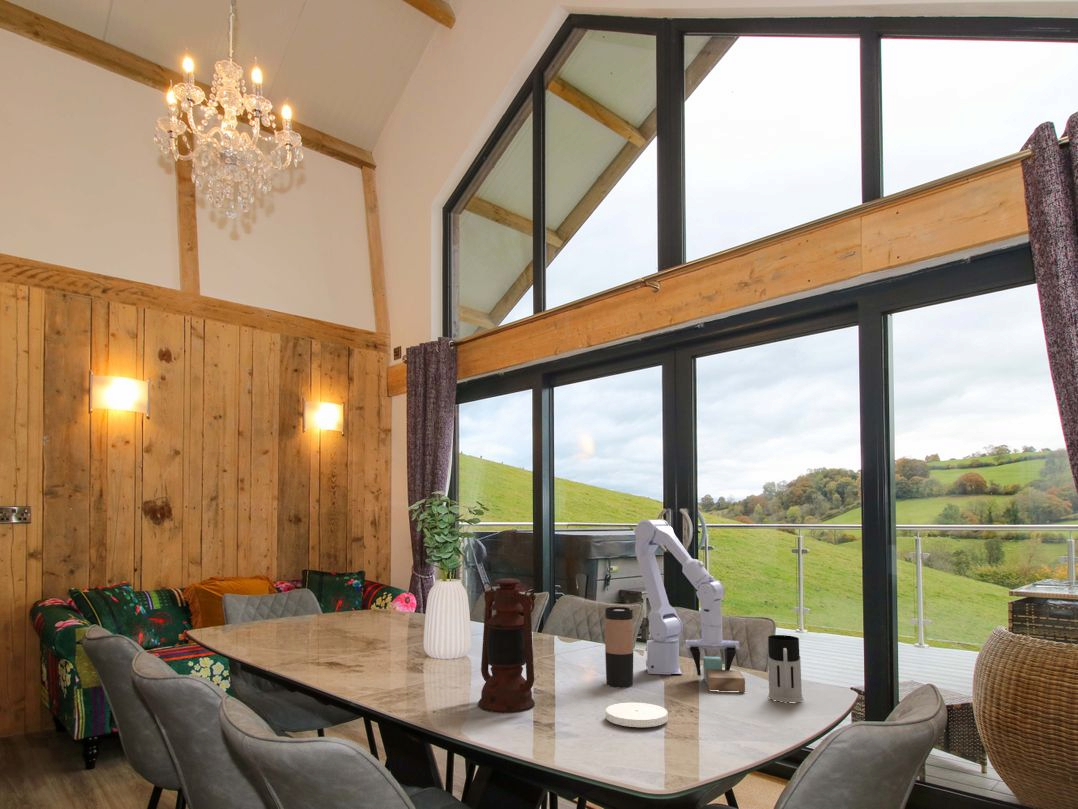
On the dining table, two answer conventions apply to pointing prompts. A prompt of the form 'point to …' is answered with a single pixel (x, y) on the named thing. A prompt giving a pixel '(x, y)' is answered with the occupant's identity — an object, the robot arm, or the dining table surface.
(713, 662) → the teal block
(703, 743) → the dining table surface
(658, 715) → the plastic lid
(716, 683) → the walnut base
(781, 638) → the glass holder
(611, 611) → the travel mug
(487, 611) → the lantern
